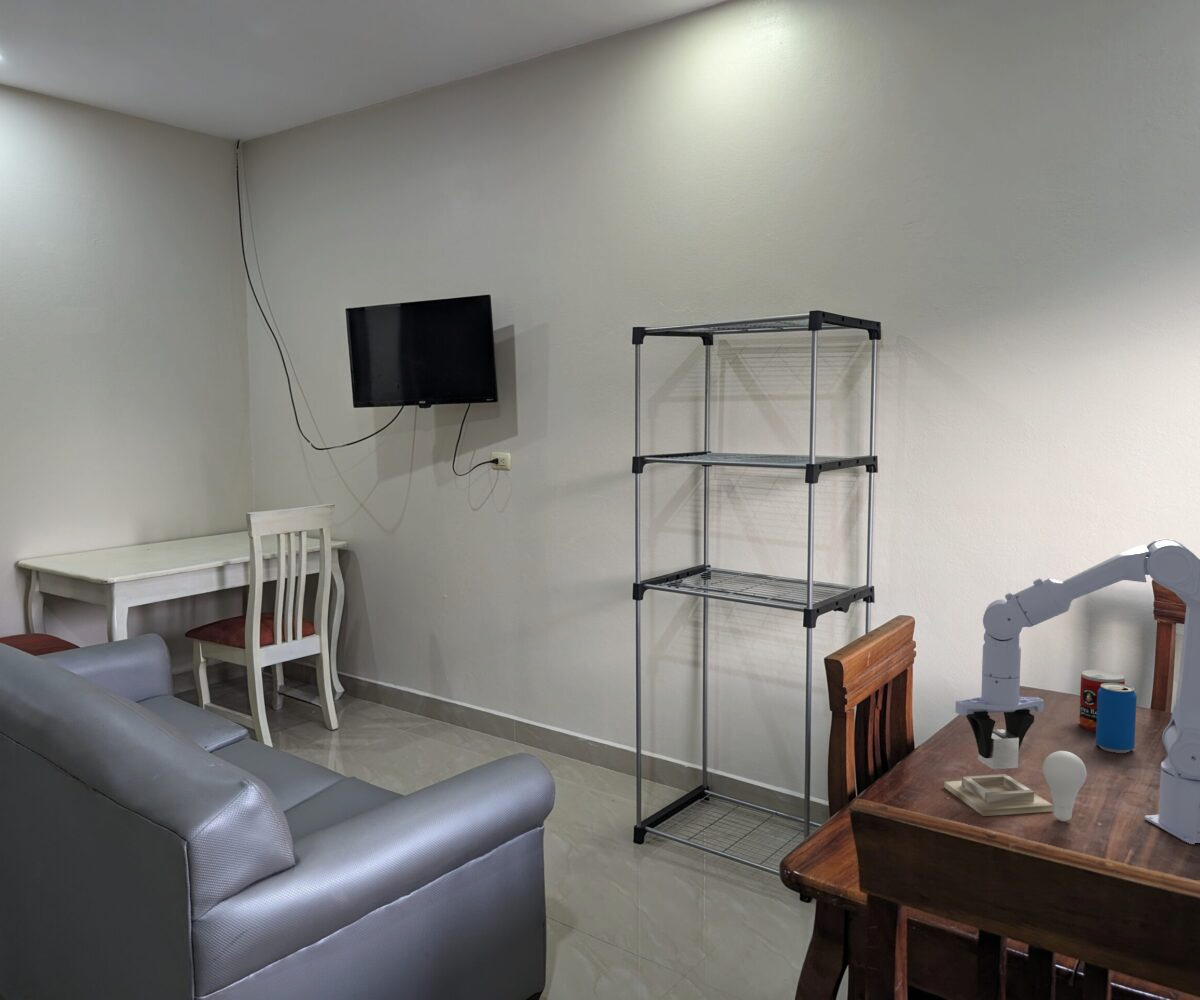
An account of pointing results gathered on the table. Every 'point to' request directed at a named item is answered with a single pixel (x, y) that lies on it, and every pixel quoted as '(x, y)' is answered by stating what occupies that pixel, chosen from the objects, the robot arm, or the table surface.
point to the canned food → (1094, 694)
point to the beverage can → (1116, 717)
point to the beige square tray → (997, 795)
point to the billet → (1002, 750)
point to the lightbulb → (1064, 781)
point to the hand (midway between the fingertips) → (998, 755)
